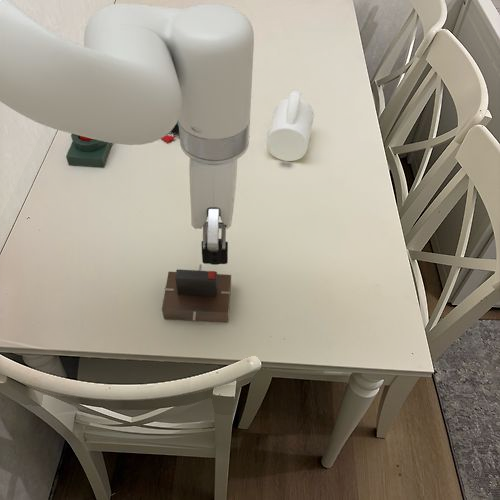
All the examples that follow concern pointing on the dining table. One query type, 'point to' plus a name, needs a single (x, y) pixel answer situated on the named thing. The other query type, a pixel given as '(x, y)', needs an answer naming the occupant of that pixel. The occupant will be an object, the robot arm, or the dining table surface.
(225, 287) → the knob base block
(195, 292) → the bar knob
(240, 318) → the dining table surface
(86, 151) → the button box
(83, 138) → the button
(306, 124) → the mug
